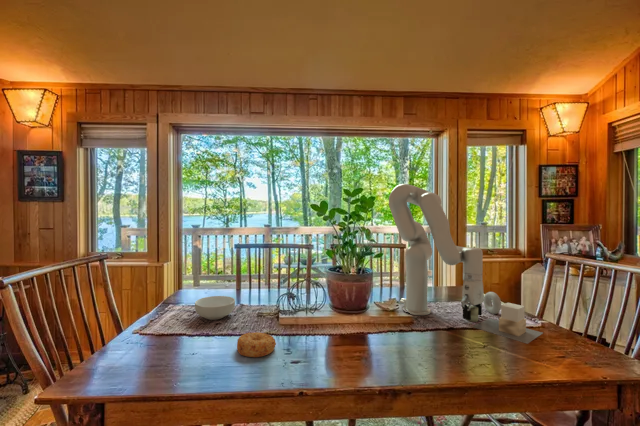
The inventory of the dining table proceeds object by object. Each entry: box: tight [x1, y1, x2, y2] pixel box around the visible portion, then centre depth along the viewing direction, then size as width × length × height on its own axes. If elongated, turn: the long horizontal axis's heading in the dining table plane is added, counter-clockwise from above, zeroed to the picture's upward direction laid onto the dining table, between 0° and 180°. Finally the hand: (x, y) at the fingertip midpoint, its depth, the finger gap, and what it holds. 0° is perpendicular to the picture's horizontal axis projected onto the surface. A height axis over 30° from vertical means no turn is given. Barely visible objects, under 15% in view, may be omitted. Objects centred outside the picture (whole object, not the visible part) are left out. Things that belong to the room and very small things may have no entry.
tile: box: [471, 318, 544, 345], centre depth 127 cm, size 20×16×1 cm
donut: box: [483, 291, 502, 315], centre depth 148 cm, size 10×3×10 cm, turn 7°
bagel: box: [236, 331, 277, 358], centre depth 109 cm, size 13×14×5 cm
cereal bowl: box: [194, 295, 236, 321], centre depth 141 cm, size 17×17×7 cm
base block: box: [498, 316, 527, 336], centre depth 125 cm, size 7×7×5 cm
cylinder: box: [465, 305, 479, 323], centre depth 138 cm, size 5×5×6 cm
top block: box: [500, 302, 525, 322], centre depth 125 cm, size 6×6×5 cm
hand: (472, 316), depth 138 cm, fingers open, 9 cm apart
